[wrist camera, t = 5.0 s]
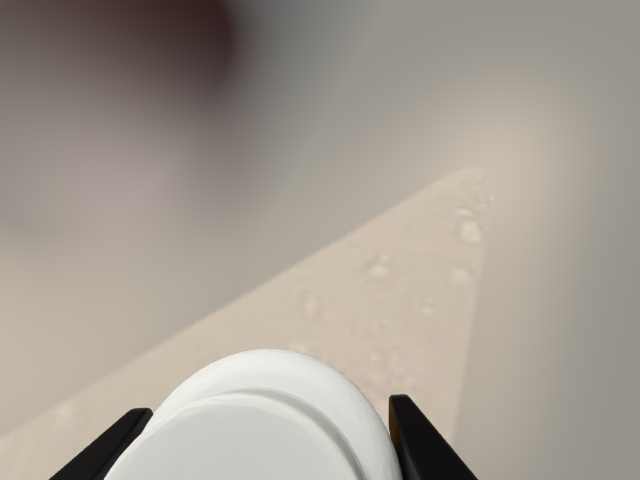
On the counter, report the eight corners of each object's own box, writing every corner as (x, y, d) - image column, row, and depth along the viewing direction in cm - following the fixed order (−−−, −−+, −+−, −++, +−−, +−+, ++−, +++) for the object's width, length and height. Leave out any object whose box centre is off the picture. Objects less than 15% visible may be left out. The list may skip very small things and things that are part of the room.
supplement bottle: (381, 510, 13) (525, 930, 3) (233, 529, 12) (-89, 1017, 3) (357, 353, 15) (398, 314, 5) (230, 369, 15) (36, 360, 5)
